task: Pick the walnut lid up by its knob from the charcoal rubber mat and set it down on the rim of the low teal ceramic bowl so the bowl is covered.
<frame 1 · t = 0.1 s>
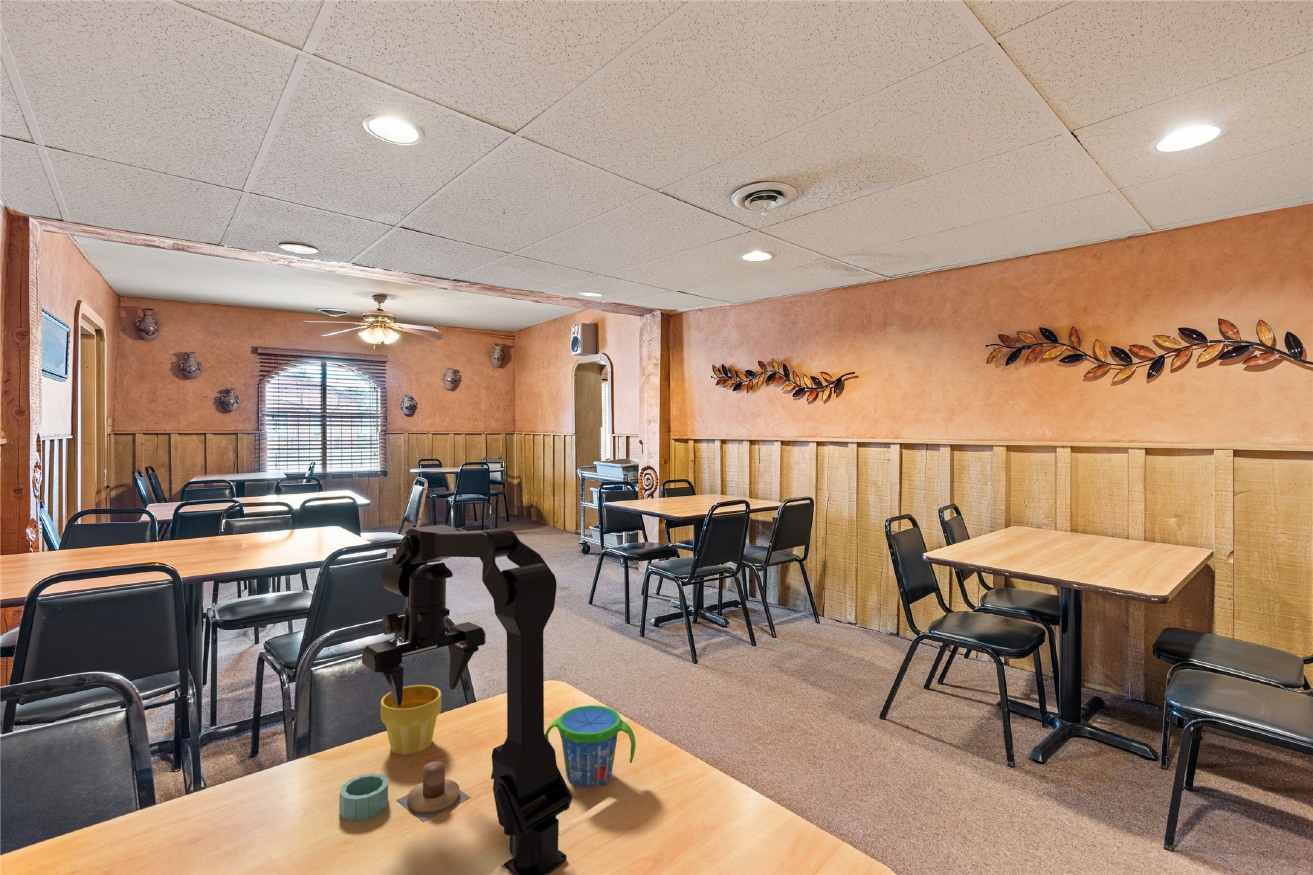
hand: (426, 697, 101), 14 cm above the table, fingers open, 9 cm apart
lemon: (521, 776, 104), on the table
snack cup: (588, 779, 103), on the table
mat: (433, 803, 95), on the table
lid: (433, 798, 95), point 1 cm above the table, touching mat
plant pot: (410, 750, 111), on the table
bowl: (364, 811, 93), on the table
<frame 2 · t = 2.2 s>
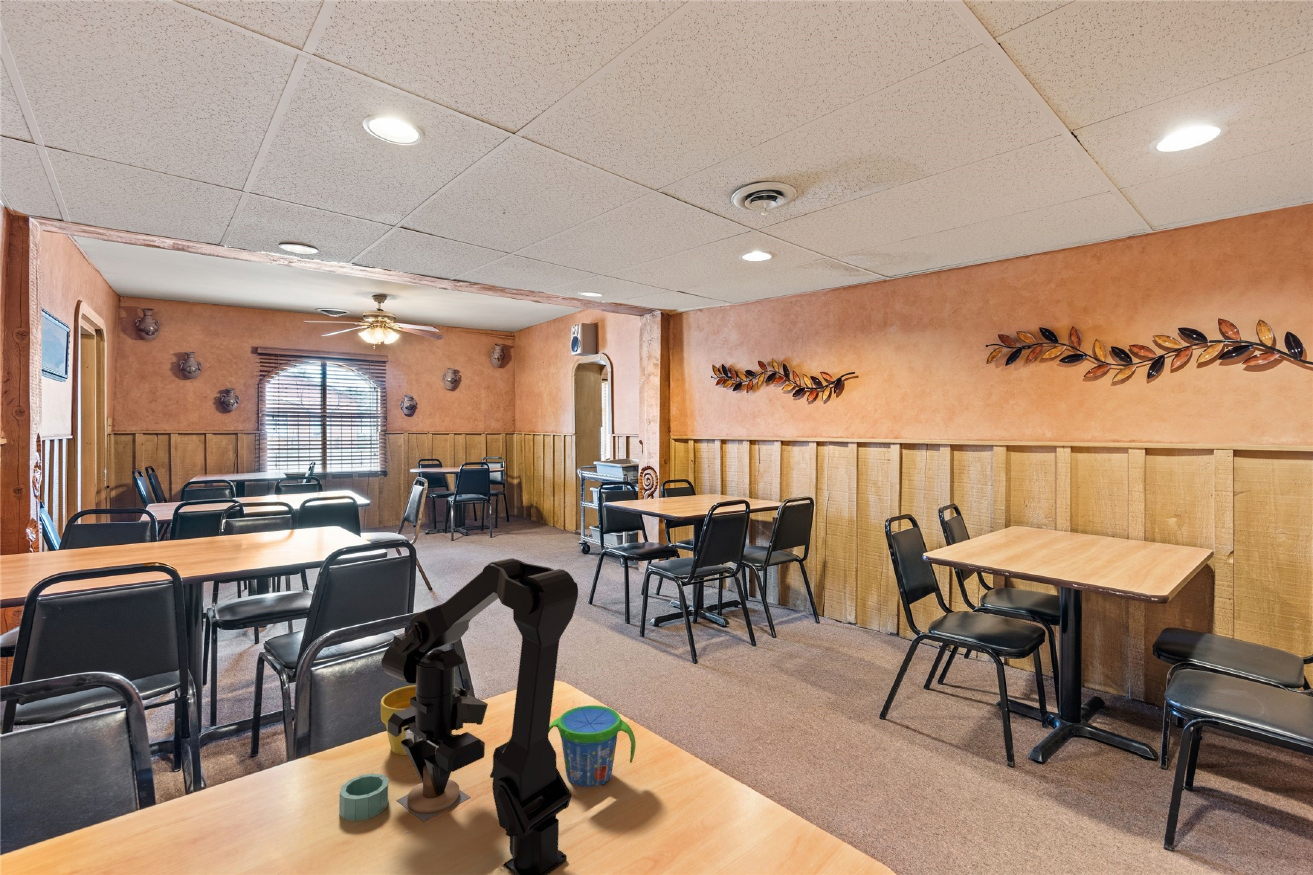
hand: (433, 789, 95), 2 cm above the table, fingers closed on lid, 3 cm apart
lid: (433, 798, 95), point 1 cm above the table, touching gripper, mat
everything else where it was.
when the fingers open (7 cm above the table, at t = 4.9 s): lid drops 2 cm, resting on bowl.
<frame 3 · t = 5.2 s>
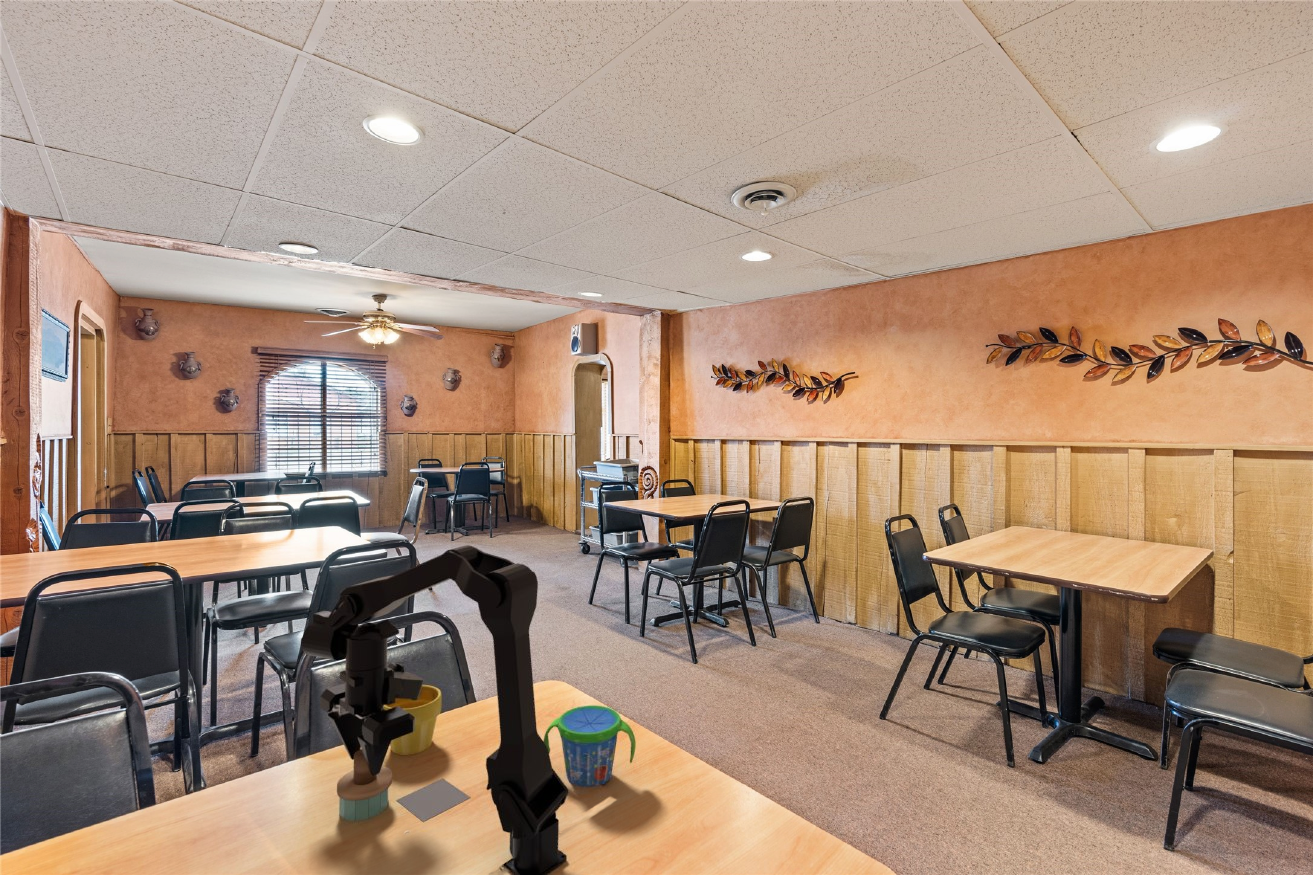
hand: (365, 766, 93), 7 cm above the table, fingers open, 6 cm apart
lid: (365, 785, 93), point 4 cm above the table, touching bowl
everything else where it was.
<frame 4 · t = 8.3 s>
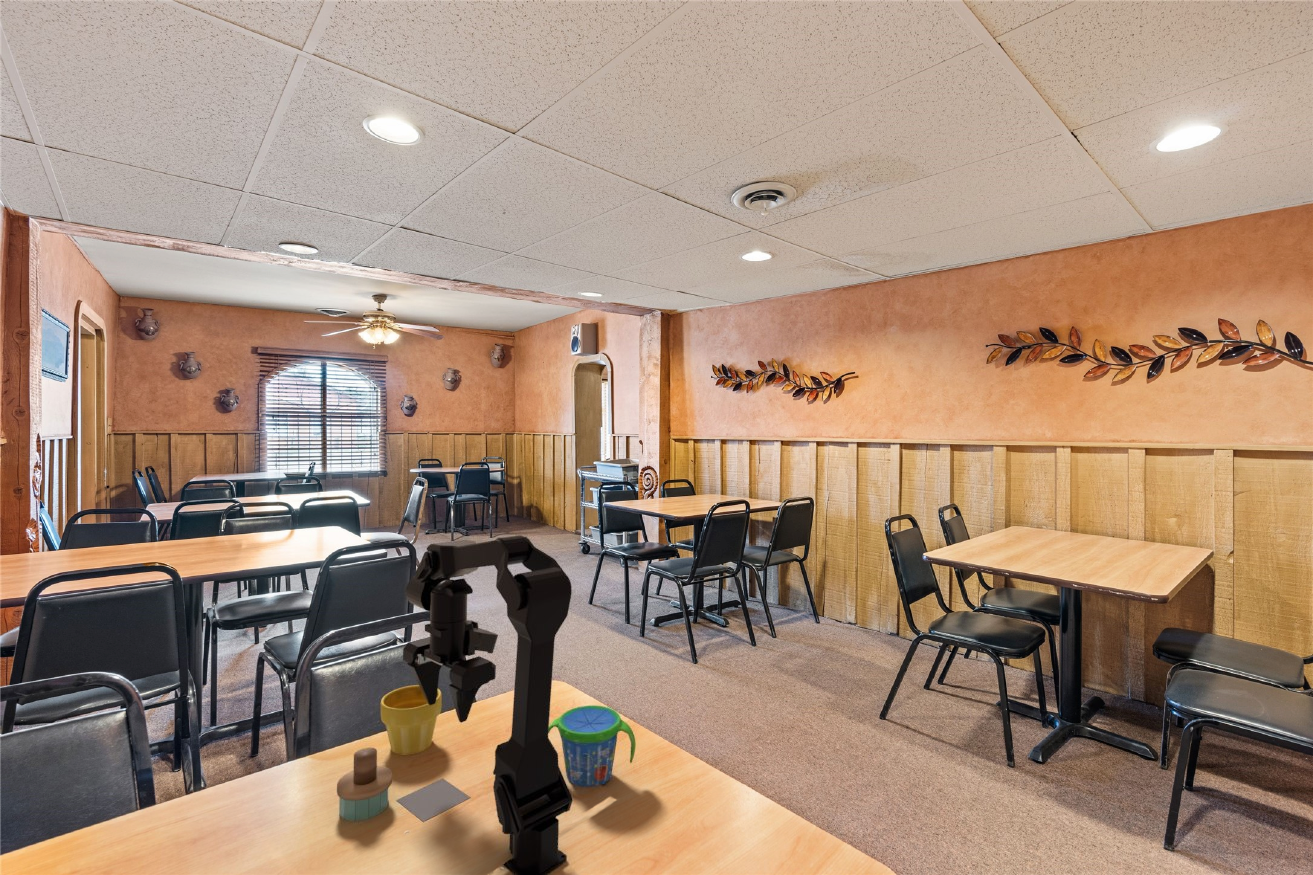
hand: (447, 712, 100), 12 cm above the table, fingers open, 9 cm apart
nothing on the table moved.
at the end: lid 0.0 cm off-centre on the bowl, point 4.0 cm above the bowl's base; lid tilted 0°; the gripper is holding nothing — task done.
